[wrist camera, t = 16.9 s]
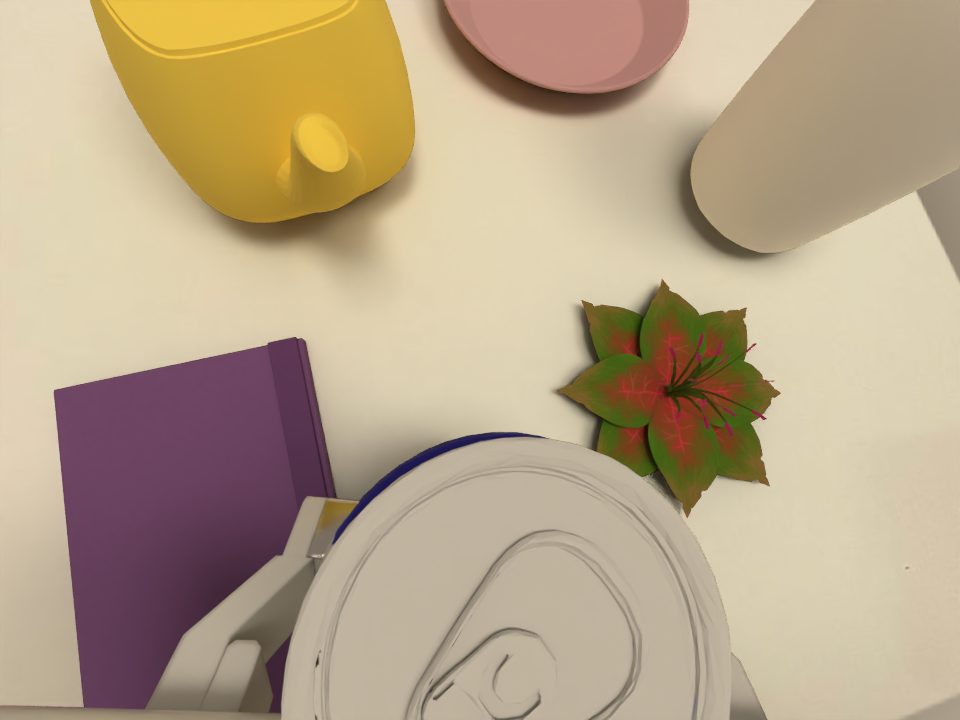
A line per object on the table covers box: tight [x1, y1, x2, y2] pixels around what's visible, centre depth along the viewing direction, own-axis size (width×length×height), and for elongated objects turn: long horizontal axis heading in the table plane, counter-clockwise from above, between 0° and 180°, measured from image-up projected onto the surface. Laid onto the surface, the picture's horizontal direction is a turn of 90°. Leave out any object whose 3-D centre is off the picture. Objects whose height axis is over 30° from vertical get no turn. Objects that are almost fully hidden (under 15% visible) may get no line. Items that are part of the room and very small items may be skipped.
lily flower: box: [557, 279, 781, 518], centre depth 20 cm, size 12×12×5 cm
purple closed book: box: [54, 337, 336, 713], centre depth 18 cm, size 18×10×1 cm, turn 15°
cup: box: [690, 0, 960, 253], centre depth 18 cm, size 8×8×14 cm
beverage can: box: [281, 432, 732, 720], centre depth 12 cm, size 6×6×15 cm
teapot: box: [90, 0, 415, 223], centre depth 17 cm, size 18×11×11 cm, turn 26°
